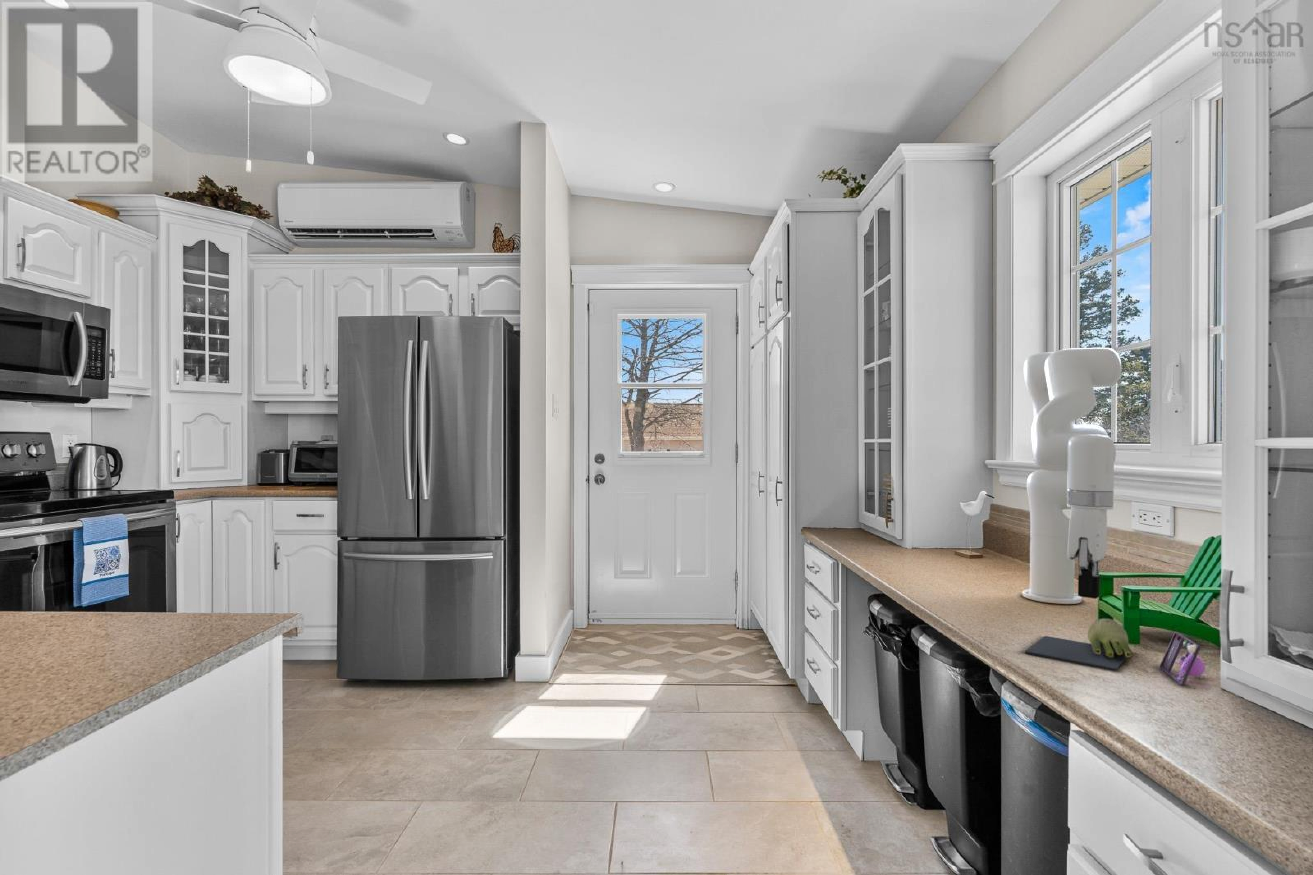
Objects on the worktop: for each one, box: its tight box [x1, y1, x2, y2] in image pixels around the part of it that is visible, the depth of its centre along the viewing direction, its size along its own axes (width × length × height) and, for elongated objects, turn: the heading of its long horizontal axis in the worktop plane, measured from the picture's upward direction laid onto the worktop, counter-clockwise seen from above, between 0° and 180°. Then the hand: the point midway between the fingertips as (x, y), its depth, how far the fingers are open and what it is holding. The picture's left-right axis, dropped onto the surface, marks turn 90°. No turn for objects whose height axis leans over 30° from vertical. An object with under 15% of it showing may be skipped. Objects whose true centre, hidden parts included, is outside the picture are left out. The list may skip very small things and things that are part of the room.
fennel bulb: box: [1087, 617, 1134, 659], centre depth 128 cm, size 6×5×12 cm
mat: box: [1024, 635, 1128, 672], centre depth 127 cm, size 14×14×1 cm
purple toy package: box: [1159, 630, 1206, 686], centre depth 114 cm, size 7×5×9 cm
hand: (1088, 596), depth 134 cm, fingers closed
